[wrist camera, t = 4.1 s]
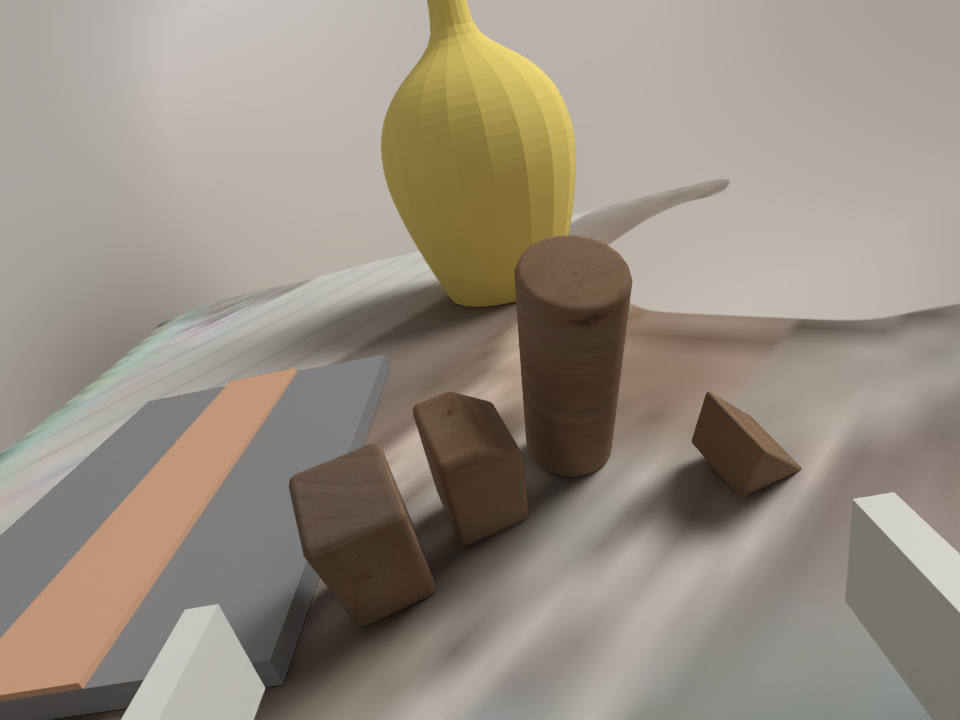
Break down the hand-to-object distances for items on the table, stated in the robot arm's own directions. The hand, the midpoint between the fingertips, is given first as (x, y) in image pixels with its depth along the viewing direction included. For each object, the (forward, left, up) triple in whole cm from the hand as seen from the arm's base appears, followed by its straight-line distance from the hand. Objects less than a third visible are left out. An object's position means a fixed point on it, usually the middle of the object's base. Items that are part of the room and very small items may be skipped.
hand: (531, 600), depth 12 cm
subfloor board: (+18, -16, -6) cm, 25 cm away
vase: (0, -42, -6) cm, 42 cm away
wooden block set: (-1, -10, -6) cm, 12 cm away
